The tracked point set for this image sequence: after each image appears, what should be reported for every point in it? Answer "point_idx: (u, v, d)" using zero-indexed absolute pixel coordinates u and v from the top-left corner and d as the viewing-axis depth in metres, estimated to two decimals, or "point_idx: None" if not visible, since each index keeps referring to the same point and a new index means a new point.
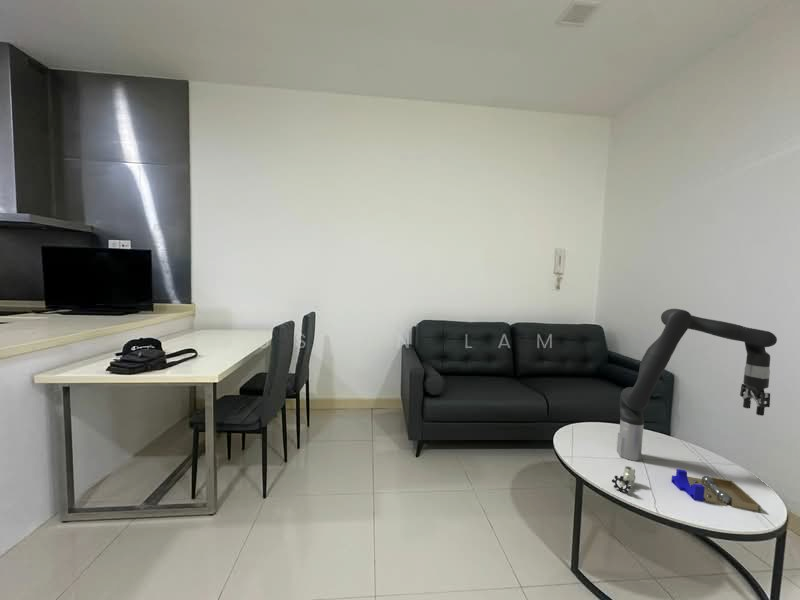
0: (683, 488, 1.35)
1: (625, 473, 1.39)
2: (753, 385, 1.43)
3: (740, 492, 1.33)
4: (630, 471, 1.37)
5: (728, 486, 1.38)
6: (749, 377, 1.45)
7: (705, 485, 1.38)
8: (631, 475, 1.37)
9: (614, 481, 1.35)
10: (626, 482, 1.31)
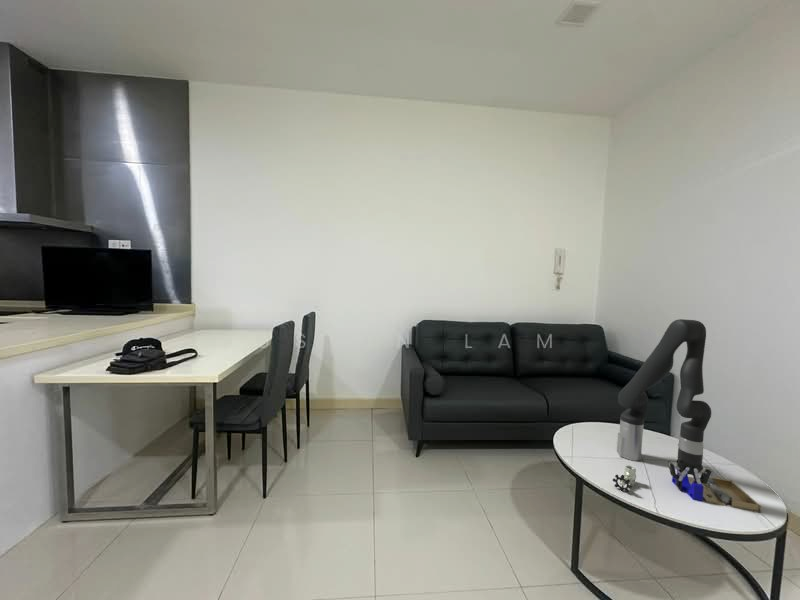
0: (683, 487, 1.36)
1: (626, 472, 1.39)
2: (701, 463, 1.31)
3: (740, 492, 1.33)
4: (631, 470, 1.38)
5: (728, 486, 1.38)
6: (700, 456, 1.30)
7: (705, 485, 1.38)
8: (632, 474, 1.38)
9: (615, 480, 1.35)
10: (627, 481, 1.32)
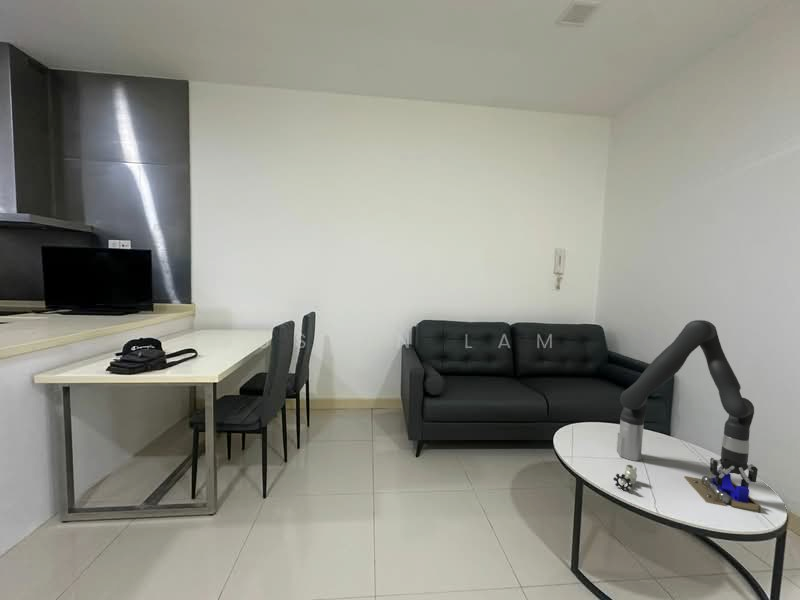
0: (726, 489, 1.34)
1: (627, 471, 1.40)
2: (747, 462, 1.29)
3: None
4: (632, 469, 1.39)
5: None
6: (746, 454, 1.28)
7: (705, 485, 1.38)
8: (633, 473, 1.39)
9: (616, 479, 1.36)
10: (627, 480, 1.33)
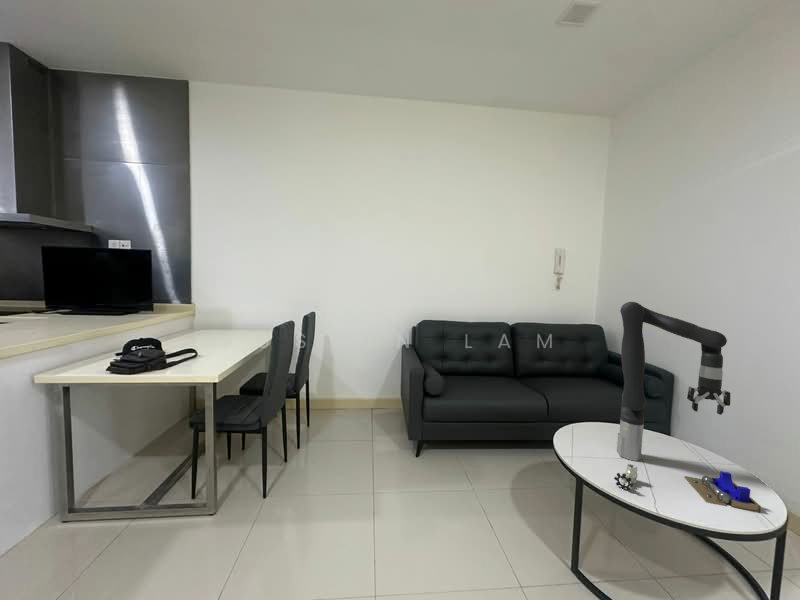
0: (727, 490, 1.33)
1: (627, 471, 1.41)
2: (720, 387, 1.43)
3: None
4: (632, 469, 1.39)
5: None
6: (719, 380, 1.42)
7: (705, 485, 1.38)
8: (633, 472, 1.39)
9: (616, 478, 1.36)
10: (628, 479, 1.33)
